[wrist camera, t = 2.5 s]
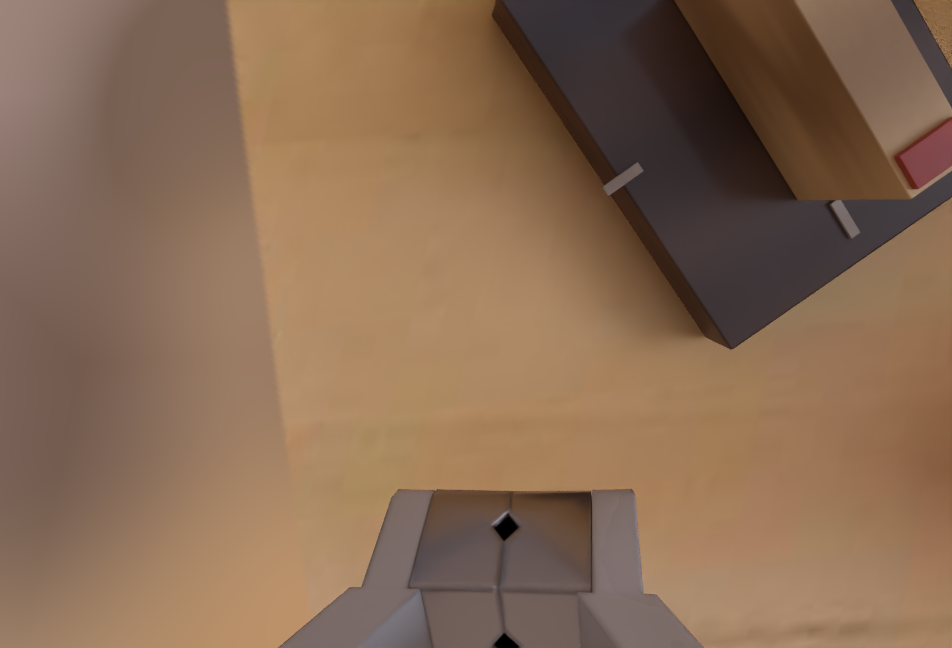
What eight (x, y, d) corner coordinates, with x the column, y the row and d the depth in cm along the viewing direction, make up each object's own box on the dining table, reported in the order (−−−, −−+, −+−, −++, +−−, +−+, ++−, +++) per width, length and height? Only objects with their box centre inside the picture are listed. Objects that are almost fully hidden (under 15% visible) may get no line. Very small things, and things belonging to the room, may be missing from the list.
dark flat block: (476, 25, 26) (480, 4, 23) (770, -192, 25) (809, -238, 23) (692, 347, 28) (719, 362, 25) (967, 155, 27) (1023, 150, 25)
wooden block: (667, -9, 23) (750, -85, 17) (720, -48, 23) (822, -138, 17) (797, 201, 25) (917, 199, 19) (848, 165, 25) (985, 152, 18)
